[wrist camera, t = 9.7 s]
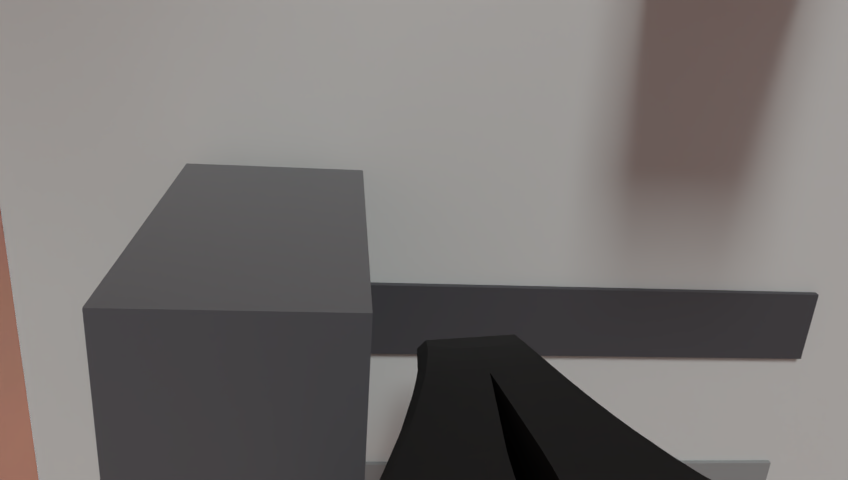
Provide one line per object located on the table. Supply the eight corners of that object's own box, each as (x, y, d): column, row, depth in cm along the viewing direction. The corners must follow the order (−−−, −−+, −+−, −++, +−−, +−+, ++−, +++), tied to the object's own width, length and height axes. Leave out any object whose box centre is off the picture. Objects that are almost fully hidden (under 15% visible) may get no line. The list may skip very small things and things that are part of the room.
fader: (362, 170, 11) (372, 313, 7) (351, 464, 12) (352, 720, 8) (186, 163, 10) (81, 309, 6) (200, 465, 12) (127, 729, 8)
